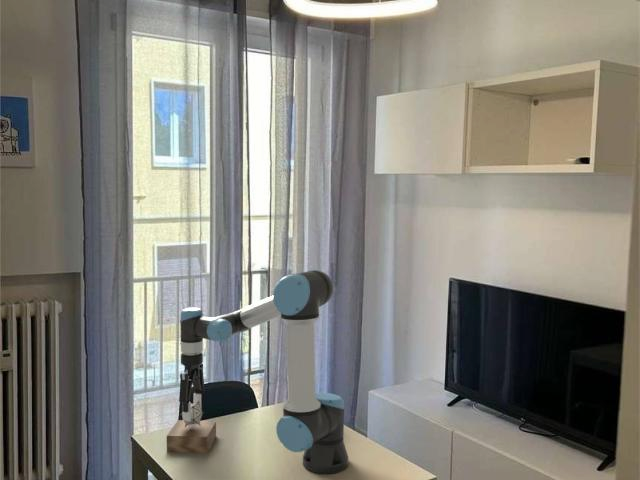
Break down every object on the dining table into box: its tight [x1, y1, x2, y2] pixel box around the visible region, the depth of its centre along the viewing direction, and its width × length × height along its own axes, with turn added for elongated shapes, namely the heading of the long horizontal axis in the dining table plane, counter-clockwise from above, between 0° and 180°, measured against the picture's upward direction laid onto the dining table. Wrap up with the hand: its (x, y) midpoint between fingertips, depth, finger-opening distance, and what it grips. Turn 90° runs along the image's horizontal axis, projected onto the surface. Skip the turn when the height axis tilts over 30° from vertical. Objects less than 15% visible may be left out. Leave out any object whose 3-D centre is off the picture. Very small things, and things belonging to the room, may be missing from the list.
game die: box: [179, 401, 206, 427], centre depth 215 cm, size 9×8×10 cm
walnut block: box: [166, 419, 217, 454], centre depth 216 cm, size 14×14×6 cm
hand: (192, 415), depth 215 cm, fingers closed on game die, 8 cm apart
